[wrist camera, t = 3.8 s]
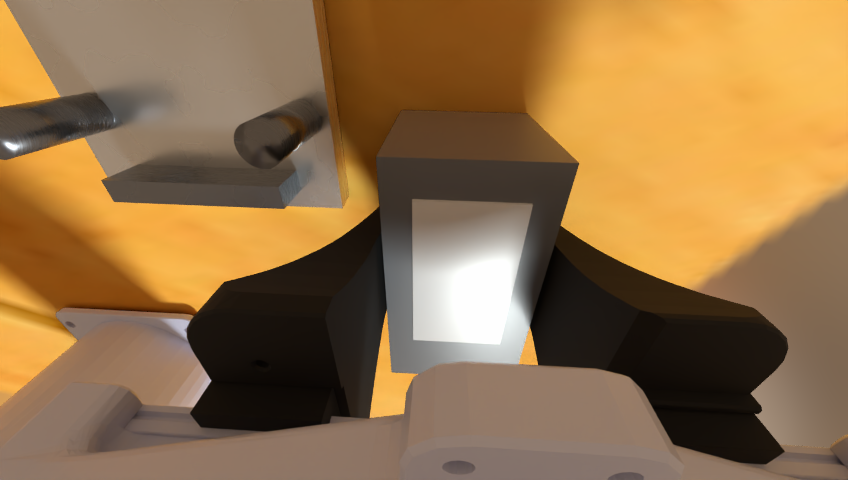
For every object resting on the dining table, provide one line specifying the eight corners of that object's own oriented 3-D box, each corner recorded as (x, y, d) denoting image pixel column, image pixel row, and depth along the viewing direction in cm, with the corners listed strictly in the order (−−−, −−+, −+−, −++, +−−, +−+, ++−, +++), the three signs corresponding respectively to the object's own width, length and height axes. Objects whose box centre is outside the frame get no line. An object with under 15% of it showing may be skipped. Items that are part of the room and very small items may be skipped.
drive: (494, 285, 15) (514, 381, 11) (405, 280, 15) (391, 374, 11) (526, 113, 11) (580, 164, 7) (401, 109, 11) (375, 158, 7)
